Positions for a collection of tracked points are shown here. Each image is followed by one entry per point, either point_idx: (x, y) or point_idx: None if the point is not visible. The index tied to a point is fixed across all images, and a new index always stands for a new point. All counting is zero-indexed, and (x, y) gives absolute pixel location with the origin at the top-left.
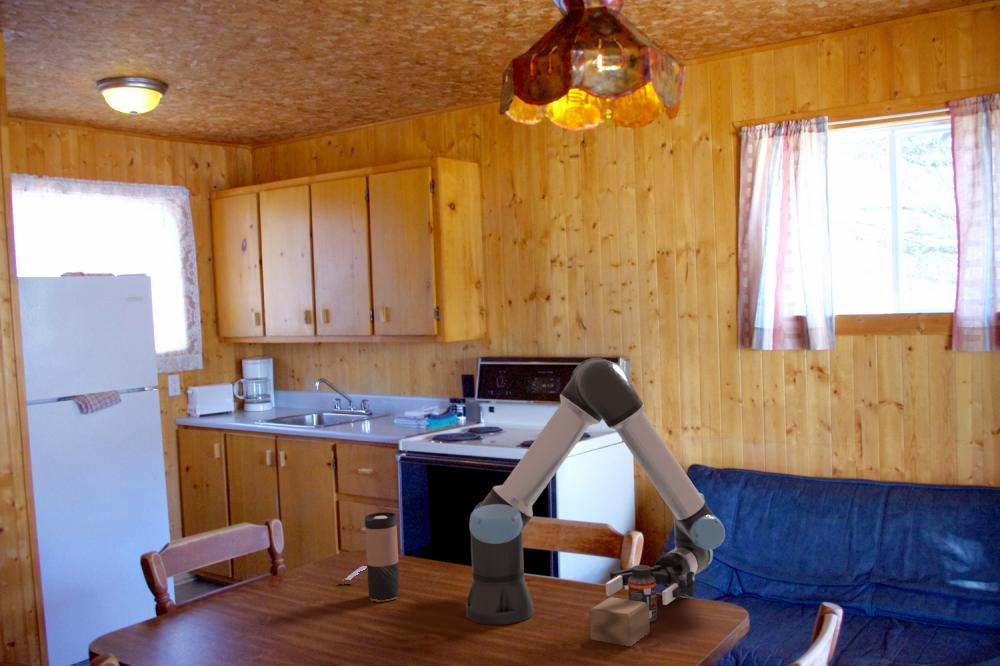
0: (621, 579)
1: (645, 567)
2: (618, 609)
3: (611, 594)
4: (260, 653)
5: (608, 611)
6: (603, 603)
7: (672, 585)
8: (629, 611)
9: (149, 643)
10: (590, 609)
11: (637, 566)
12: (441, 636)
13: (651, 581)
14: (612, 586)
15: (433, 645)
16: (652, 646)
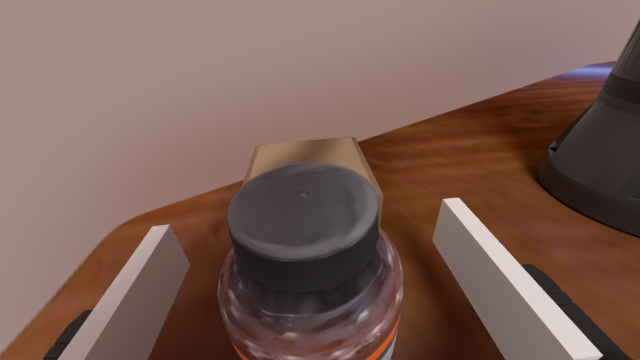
0: (546, 352)
1: (269, 206)
2: (293, 149)
3: (442, 255)
4: (557, 79)
5: (309, 141)
6: (350, 155)
7: (89, 340)
8: (262, 151)
9: None
10: (355, 139)
11: (342, 197)
12: (526, 126)
13: (232, 248)
14: (457, 242)
15: (493, 116)
16: (226, 217)
